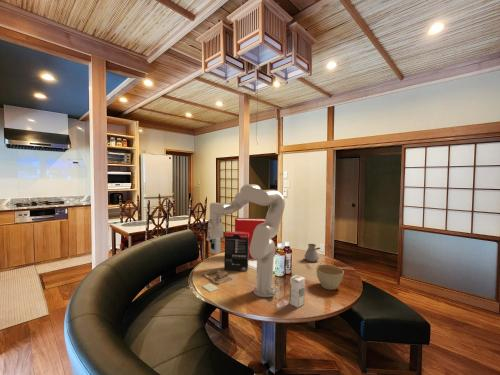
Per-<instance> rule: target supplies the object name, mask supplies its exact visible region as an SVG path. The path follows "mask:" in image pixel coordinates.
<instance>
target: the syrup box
mask: <svg viewBox="0 0 500 375" xmlns="http://www.w3.org/2000/svg"><path fill="white" fill-rule="evenodd" d="M305 289H306V277H303V276H301V275H299V274H295V275H294V276H290V279H289V299H288V302H289V305H292V307H293V306H294V307H295V308H301V307H302V306H304V305H305V296H306V295H305V294H306V290H305Z"/></svg>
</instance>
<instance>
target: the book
mask: <svg viewBox="0 0 500 375" xmlns="http://www.w3.org/2000/svg"><path fill="white" fill-rule="evenodd" d="M265 219H266V218H255V217H254V218H253V217H252V218H247V217H245V218H244V217H236V218H234V232H249V248H250V243H251V240H252V236H253V232H254V230H255V228H256V226H257V225H259V224H261V223H264V221H265ZM248 259H252V256H251V255H250V251H249V250H248Z"/></svg>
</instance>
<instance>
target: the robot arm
mask: <svg viewBox="0 0 500 375" xmlns="http://www.w3.org/2000/svg"><path fill="white" fill-rule="evenodd" d="M249 203H252V204H255V205H257V206H262V207H266V206H269V208H268V211H267V213H266V216H265V218H264V219H265V221H264V223H261V224H259V225H257V226H256V228H255V230H254V232H253V236H252V240H251V243H250V248H249V251H250V255H251V256H252V258H254V259H253V260H256V286H255V287H254V288H253V294H254V295H255V296H257V297H260V298H271V297H273V296H274V297H276V296H277V293H278V290H276V289H275V286H274V262H275V260H274V258H275V251H276V244H275V242H274V240H273V238H275V237H276V236H277V234H278V232H279V229H280V225H281V222H282V218H283V213H284V210H285V206H286V202H285V198H284V195H283V194H282V193H281V192H279V191H278V190H276V189H262V188H261V187H260V185H258V184H257V183H256V184H255V183H254V184H253V183H252V184H251V183H250V184H249V183H248V184H244V185H242V187H241V188H240V189H239V192H237V193H236V194H235V196H234V199H233V200H231V201H229V202H223V203H220V202H211V203H210V204H209V219H208V220H207V222H208V226H207V237H206V241H208V242H209V244H210V243H211V249H213V250H214V239H217V238H221V240H223V238H225V235H224V226H223V223H222V216H226V215H230V214H231V215H232V214H234V213H235V212H238V211H239V210H241V209H242V208H243V207H244V206H245V205H247V204H249ZM252 258H251V259H252Z"/></svg>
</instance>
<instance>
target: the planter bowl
mask: <svg viewBox="0 0 500 375" xmlns="http://www.w3.org/2000/svg"><path fill="white" fill-rule="evenodd" d="M315 268H316V269H315V271H316V277H317V280H318V281H319V283H320V286H321V287H322V288H323V289H325V290H329V291H331V290H332V291H335V290H337V289H338V287H339V286H340V285H341V283H342V282H343V278H344V273H345V271H344V270H343V268H341V267H339V266H335V265H332V264H319V265H316V267H315Z"/></svg>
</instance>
